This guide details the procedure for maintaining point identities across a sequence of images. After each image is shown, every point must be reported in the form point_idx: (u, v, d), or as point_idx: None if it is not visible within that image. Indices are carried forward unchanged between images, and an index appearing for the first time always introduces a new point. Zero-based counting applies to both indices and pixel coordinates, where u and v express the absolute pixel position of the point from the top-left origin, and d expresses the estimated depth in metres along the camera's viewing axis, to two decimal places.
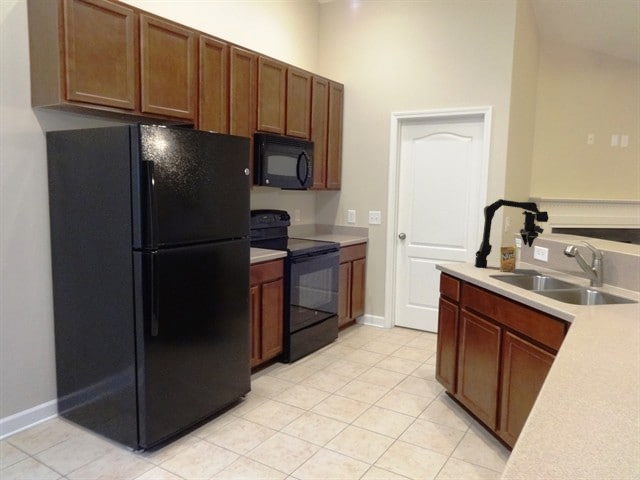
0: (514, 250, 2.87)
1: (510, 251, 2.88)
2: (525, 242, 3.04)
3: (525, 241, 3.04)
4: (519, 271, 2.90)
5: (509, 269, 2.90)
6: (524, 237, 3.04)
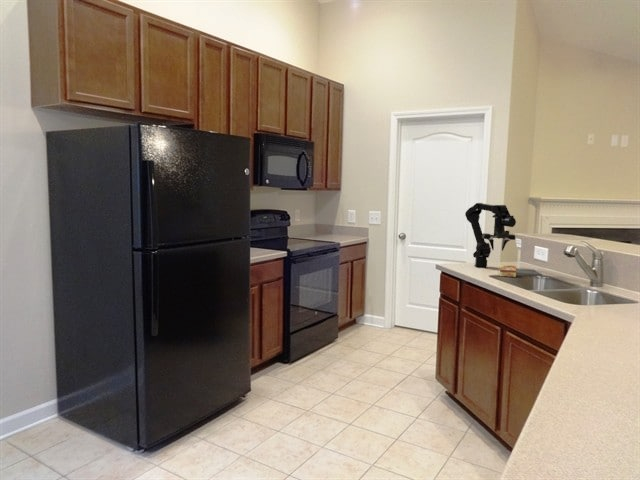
0: None
1: None
2: (502, 247, 2.91)
3: (502, 246, 2.91)
4: (519, 271, 2.90)
5: None
6: (502, 242, 2.91)
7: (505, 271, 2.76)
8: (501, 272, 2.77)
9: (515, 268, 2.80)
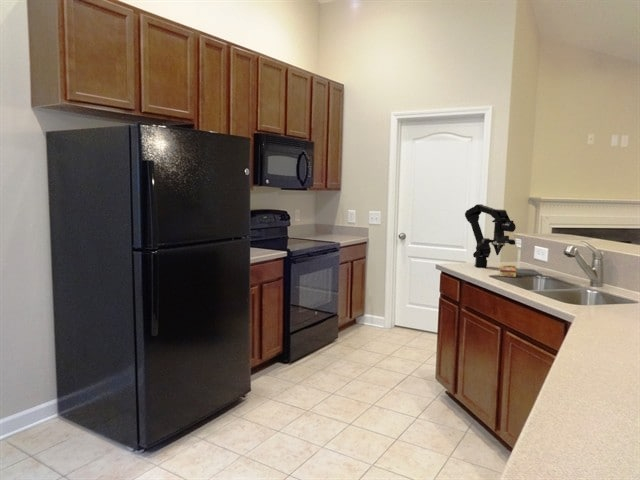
0: None
1: None
2: None
3: None
4: (519, 271, 2.90)
5: None
6: (498, 247, 2.92)
7: (505, 271, 2.76)
8: (501, 272, 2.77)
9: (515, 268, 2.80)
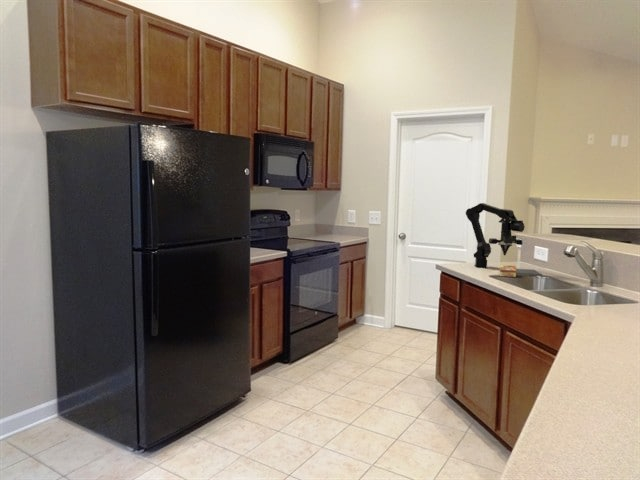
0: None
1: None
2: None
3: None
4: (519, 271, 2.90)
5: None
6: (505, 247, 2.91)
7: (505, 271, 2.76)
8: (501, 272, 2.77)
9: (515, 268, 2.80)
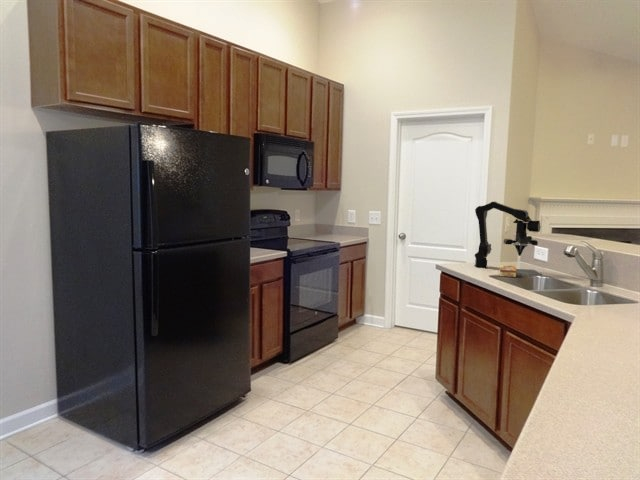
0: None
1: None
2: None
3: None
4: (519, 271, 2.90)
5: None
6: (520, 247, 2.90)
7: (505, 271, 2.76)
8: (501, 272, 2.77)
9: (515, 268, 2.80)
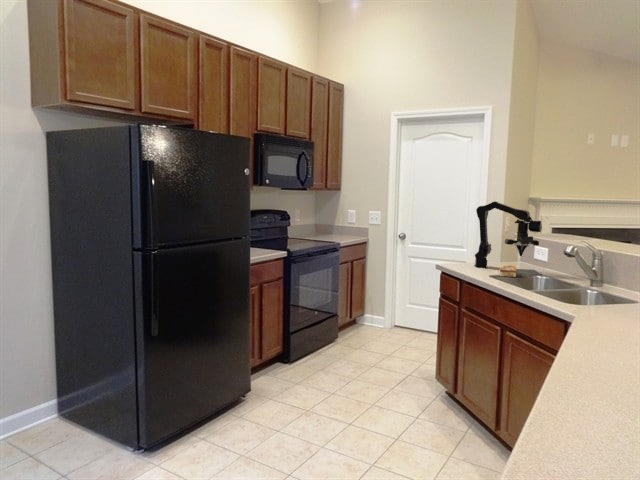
0: None
1: None
2: None
3: None
4: (519, 271, 2.90)
5: None
6: (521, 248, 2.90)
7: (505, 271, 2.76)
8: (501, 272, 2.77)
9: (515, 268, 2.80)
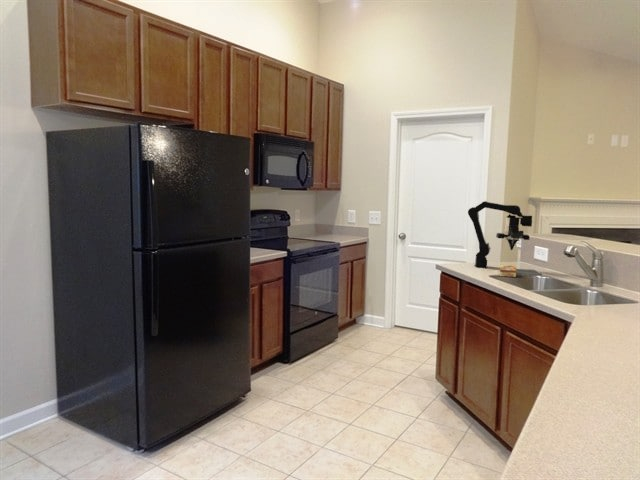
0: None
1: None
2: None
3: None
4: (519, 271, 2.90)
5: None
6: (512, 242, 2.97)
7: (505, 271, 2.76)
8: (501, 272, 2.77)
9: (515, 268, 2.80)
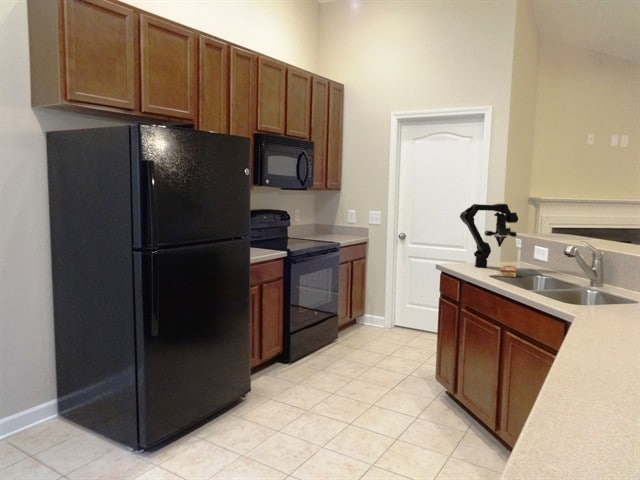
0: None
1: None
2: None
3: None
4: (519, 271, 2.90)
5: None
6: (500, 239, 3.07)
7: (505, 271, 2.76)
8: (501, 272, 2.77)
9: (515, 268, 2.80)
